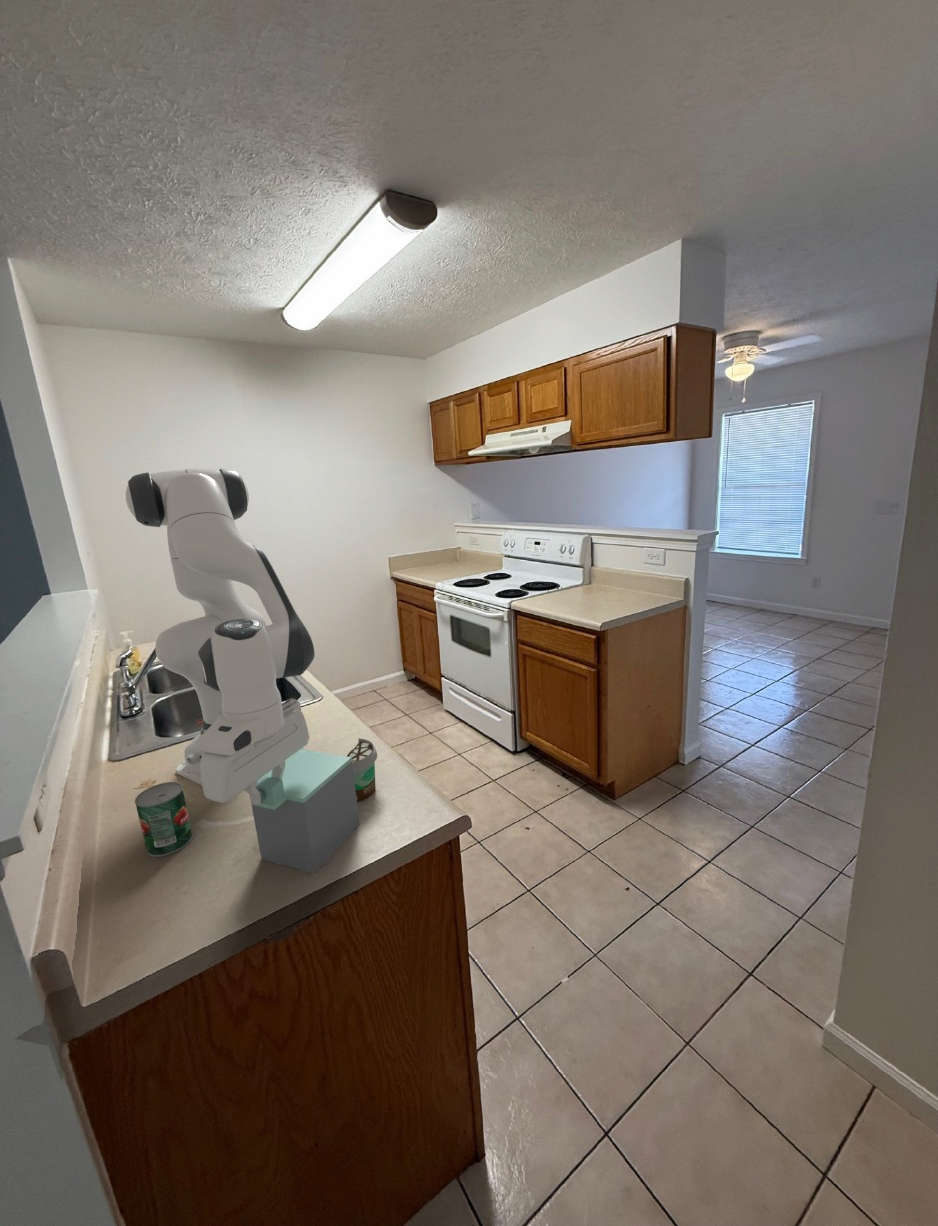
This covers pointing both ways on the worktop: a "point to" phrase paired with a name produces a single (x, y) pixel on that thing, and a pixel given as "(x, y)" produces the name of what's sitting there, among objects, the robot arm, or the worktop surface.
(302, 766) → the lid
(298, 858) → the tub
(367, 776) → the food container
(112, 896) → the worktop surface
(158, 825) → the canned tomato
